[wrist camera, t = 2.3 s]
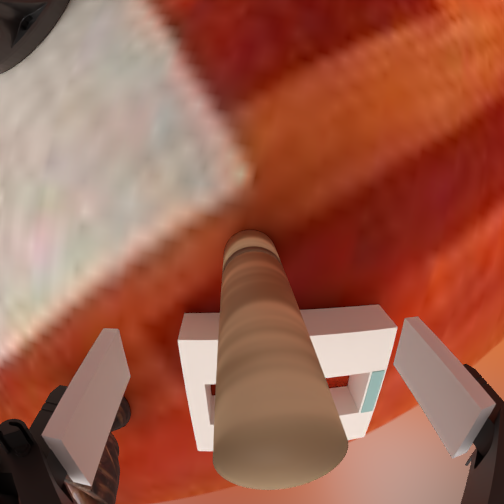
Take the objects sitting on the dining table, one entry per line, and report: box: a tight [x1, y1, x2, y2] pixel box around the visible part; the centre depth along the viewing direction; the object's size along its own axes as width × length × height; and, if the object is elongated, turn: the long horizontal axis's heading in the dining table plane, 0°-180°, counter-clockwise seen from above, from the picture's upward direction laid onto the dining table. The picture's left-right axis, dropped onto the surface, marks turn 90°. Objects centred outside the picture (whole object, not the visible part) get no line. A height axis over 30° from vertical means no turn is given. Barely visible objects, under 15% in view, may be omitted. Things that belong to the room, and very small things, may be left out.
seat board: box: [178, 304, 398, 451], centre depth 27 cm, size 14×17×4 cm
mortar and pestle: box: [65, 396, 131, 504], centre depth 20 cm, size 12×9×20 cm
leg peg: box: [213, 230, 348, 490], centre depth 16 cm, size 4×4×18 cm
